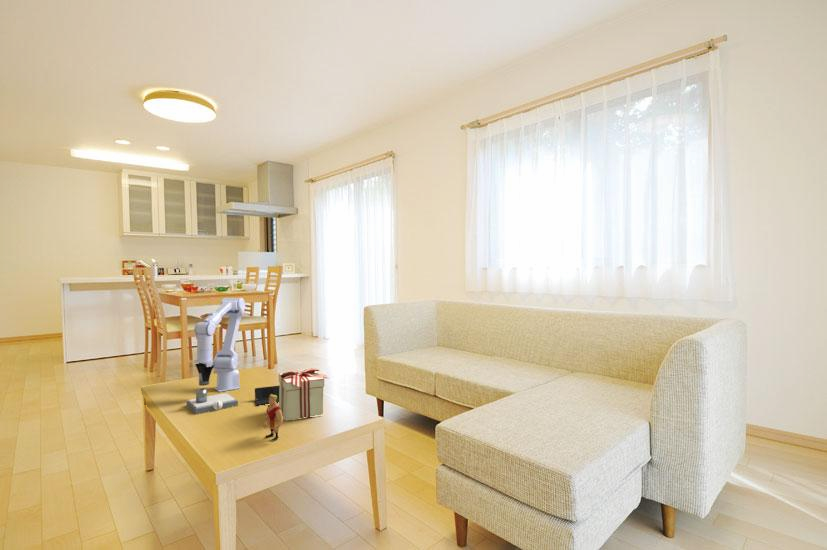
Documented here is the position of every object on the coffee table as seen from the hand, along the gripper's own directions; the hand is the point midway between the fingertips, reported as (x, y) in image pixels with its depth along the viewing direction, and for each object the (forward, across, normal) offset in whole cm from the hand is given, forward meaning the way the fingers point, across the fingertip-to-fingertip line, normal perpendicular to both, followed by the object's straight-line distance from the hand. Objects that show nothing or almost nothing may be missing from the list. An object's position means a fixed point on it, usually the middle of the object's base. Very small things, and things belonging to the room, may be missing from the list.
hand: (204, 380), depth 177 cm
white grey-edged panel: (+8, +11, 0) cm, 14 cm away
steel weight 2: (+6, +10, -4) cm, 13 cm away
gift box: (+9, +44, +25) cm, 51 cm away
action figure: (+9, +60, +6) cm, 60 cm away
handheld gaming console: (+9, +20, +20) cm, 30 cm away
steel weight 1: (+2, 0, 0) cm, 2 cm away
